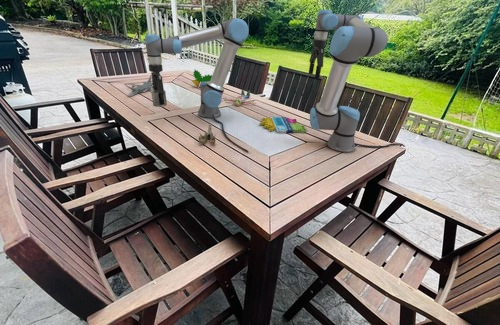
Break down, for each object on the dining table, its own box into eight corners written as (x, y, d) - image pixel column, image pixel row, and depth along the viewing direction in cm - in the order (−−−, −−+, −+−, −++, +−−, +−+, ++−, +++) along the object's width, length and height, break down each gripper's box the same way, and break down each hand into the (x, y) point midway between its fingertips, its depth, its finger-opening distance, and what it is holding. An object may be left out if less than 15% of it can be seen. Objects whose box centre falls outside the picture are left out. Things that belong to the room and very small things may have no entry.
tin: (169, 105, 164) (168, 91, 159) (158, 107, 158) (156, 93, 154) (161, 102, 168) (160, 88, 164) (150, 104, 162) (148, 91, 158)
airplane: (122, 86, 237) (119, 75, 232) (157, 84, 250) (156, 74, 245) (126, 99, 209) (123, 86, 204) (166, 96, 222) (165, 84, 217)
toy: (261, 91, 228) (254, 99, 202) (261, 99, 231) (253, 108, 205) (231, 87, 233) (220, 95, 207) (230, 95, 236) (219, 104, 210)
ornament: (209, 91, 261) (213, 76, 259) (211, 91, 253) (215, 75, 251) (188, 84, 252) (192, 69, 250) (190, 84, 245) (194, 68, 243)
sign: (308, 131, 166) (261, 129, 163) (307, 133, 167) (261, 132, 164) (299, 117, 188) (257, 116, 186) (298, 119, 189) (257, 118, 186)
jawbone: (218, 127, 153) (216, 117, 144) (216, 150, 146) (215, 141, 137) (202, 127, 153) (199, 117, 144) (200, 150, 146) (197, 140, 137)
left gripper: (143, 61, 157) (149, 98, 168) (153, 67, 142) (158, 108, 153) (156, 61, 160) (160, 97, 172) (167, 66, 145) (171, 106, 157)
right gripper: (308, 37, 167) (302, 72, 177) (320, 40, 145) (313, 80, 155) (319, 38, 167) (313, 72, 178) (333, 41, 146) (325, 80, 156)
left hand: (159, 102), depth 162 cm, fingers closed on tin, 8 cm apart
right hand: (313, 76), depth 167 cm, fingers open, 13 cm apart
